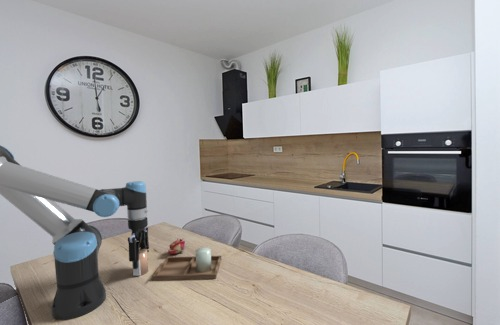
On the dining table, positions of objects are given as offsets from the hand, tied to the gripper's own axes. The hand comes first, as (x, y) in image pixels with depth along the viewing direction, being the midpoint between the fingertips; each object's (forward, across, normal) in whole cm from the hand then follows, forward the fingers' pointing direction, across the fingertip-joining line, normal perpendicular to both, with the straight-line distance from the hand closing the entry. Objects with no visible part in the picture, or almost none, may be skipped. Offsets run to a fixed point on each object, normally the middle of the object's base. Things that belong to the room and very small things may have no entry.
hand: (140, 271), depth 103 cm
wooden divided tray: (0, 0, -21) cm, 21 cm away
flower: (+1, +17, -10) cm, 20 cm away
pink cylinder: (0, 0, 0) cm, 0 cm away
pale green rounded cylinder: (-1, 0, -27) cm, 27 cm away
